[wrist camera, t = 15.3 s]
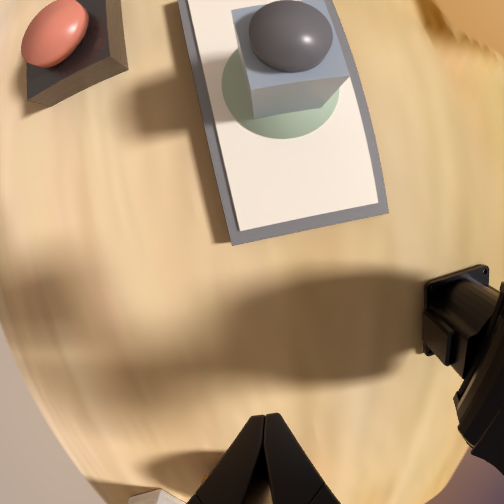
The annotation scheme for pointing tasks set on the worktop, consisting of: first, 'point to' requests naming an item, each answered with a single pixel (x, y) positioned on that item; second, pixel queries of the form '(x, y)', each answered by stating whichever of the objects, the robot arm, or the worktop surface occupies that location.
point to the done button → (54, 33)
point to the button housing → (84, 57)
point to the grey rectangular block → (288, 56)
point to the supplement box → (154, 498)
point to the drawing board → (280, 139)
